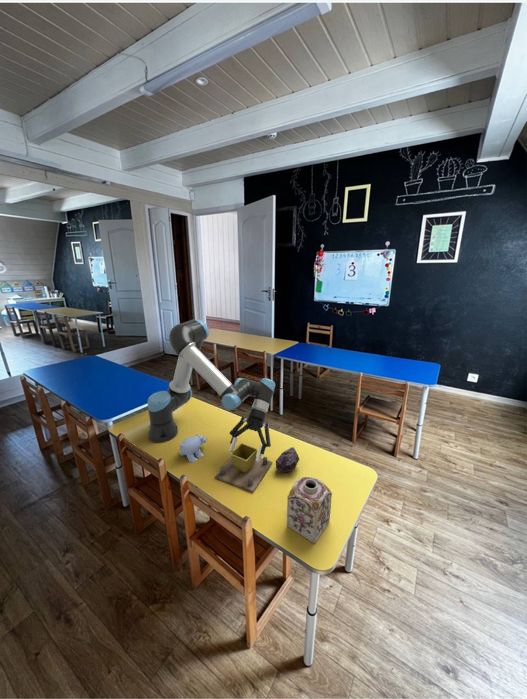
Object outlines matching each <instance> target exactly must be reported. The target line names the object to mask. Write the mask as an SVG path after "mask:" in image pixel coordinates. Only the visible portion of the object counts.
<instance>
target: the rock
mask: <svg viewBox="0 0 527 699" xmlns="http://www.w3.org/2000/svg"><path fill="white" fill-rule="evenodd" d="M299 461H300V456H299V455H298V452H297V450H296V449H295V447H294V446H293V447H289V448H288V449H285V450H284V451H283V452H282V453H281V454H280V455H279V456H278V458H277V459H276V460H275V469H276V470H277V472H278V473H281V474H283V473H284V474H285V473H286V472H289V473H290V472H292V471H293V470H294V469H295V468H296V467H297V465H298V464H299Z"/></svg>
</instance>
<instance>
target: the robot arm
mask: <svg viewBox="0 0 527 699" xmlns="http://www.w3.org/2000/svg"><path fill="white" fill-rule="evenodd" d="M209 334H210V330H209V327H208V326H207V324H206V323H205V322H204V321H203V320H202V319H198V318H196V319H190V320H188V321H185V322H182V323H178V324H176V325H174V326H173V327H172V328H171V330H170V332H169V336H168V341H169V344H170V347H171V348H172V350H173V352H174V353H175V354H176V355H177V356H178V359H177V362H176V366H175V371H174V374H173V375H174V376H173V379H172V380H171V381H170V382H169V385H168V388H167V390H160V391H155V392H154V393H152V394H151V395H150V396H149V397H148V399H147V412H148V418H149V422H150V423H149V424H150V425H149V431H148V439H149V441H151V442H152V443H166V442H169V441H170V440H173V439H175V437H177V436H178V434H179V433H178V432H179V431H178V429H179V428H178V425H177V423H176V422H175V420H174V415H173V414H174V413H173V412H175V411H176V410H178V409H179V408H181V407H182V406H184V405H186V404H187V403H188V402H189V401H190V400H191V399H192V395H193V390H192V387H191V385H190V384H189V383H190V380H191V375H192V372H193V369H194V370H195V371H196V372H197V374H199V375H200V376H201V377H202V378H203V379H204V380H205V381H206V382H207V383H208V385H209V386H210V387H211V388H212V389H213V390H214V391H215V392H217V394H218V395H219V396H220V398H221V404H222V406H223V408H225V409H226V410H228V411H233V410H234V409H236V408H237V407H239V406H240V405H241V404H242V403H243V402H244V401H245V400H246V399H247V398H248V397H254V400H253V403H252V405H251V409H250V412H249V414H248V418H245V417H244V416H242V417H241V418H240V420H239V421H238V423H237V424H236V425H234V427H233V428H232V429H231V430H230V431H229V433H228V434H229V435H230V436H231V440H230V441H229V442H230V443H229V444H230V447H229V450H228V453H229V452H230V454H231V453H232V452H233V451H234V450H235V449H236V448H235V447H236V444H237V442H238V438H237V437H239V436H240V435H242V434H243V433H244V432H246V431H248V430H250V431H254V432H257V434H258V436H259V439H260V442H261V444H262V445H260V446H259V448H258V450H257V455H256V457H257V458H256V461H257V462H259V461H260V458H262V455H264V454H265V452H266V448H270V447H271V446H272V444H271V436H270V424H269V423H267V422H266V423H265V420H266V417H267V413H268V410H269V407H270V404H271V400H272V398H273V395H274V393H275V388H276V383H275V381H274V380H272V379H269V378H264V377H263V378H261V379H260V381H256V380H252V379H248V378H246V377H245V378H242V377H238V378H236V380H235V381H234V384H233V383H232V382H231V381H230V380H229V379H228V378H227V377H226V376H225V375H224V374H223V373H222V372H221V371H220V370H219V369H218V368H217V367H216V366H215V364H213V363H212V362H211V360H210V359H209V358H208V357H206V356H205V354H204V353H202V351H200V350H201V348H202V346H203V342H204V341H205V340H207V338H208V337H209ZM242 426H243V427H242ZM262 428H264V435H263V431H262ZM264 436H265V437H264Z"/></svg>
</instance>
